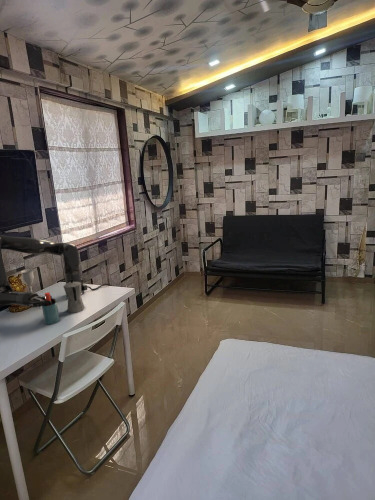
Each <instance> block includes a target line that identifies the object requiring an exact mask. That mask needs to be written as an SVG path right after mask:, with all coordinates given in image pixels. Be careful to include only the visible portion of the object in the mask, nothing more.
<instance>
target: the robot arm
mask: <svg viewBox="0 0 375 500" xmlns="http://www.w3.org/2000/svg"><path fill="white" fill-rule="evenodd" d="M2 250H8V251H13V252H16V253H21V254H28V255H54V256H59V257H62V258H63V266H62V269H63V274H64V275H63V276H64V281H65V284H67V283H69V282H71V281H70V280H71V279H73V282H80V283H81V295H80V296H82V295H84V293H85V291H87V290H88V289H90V290H91V291H95V290H98V289H100V288H101V287H104V286H110V287H111V286H112V284H111V283H103V284H100V285H98V286H97V287H94V288H92V287H91V286H89V285H88V284H84V282H83V278H81V277H82V276H81V270H80V256H79V254H80V253H79V249H78V247H77V246H76V245H75V244H72V243H70V242H54V241H50V240H45V239H41V238H34V237H27V236H26V237H25V236H8V235H1V234H0V289H2V290H1V291H0V306H10V305H14V306H20V307H28V308H31V309H32V308H42V305H52V303H56V302H57V300H56V298H54V297H52V295H51V294H50V297H51V301H48V300H46V298H45V295H39V294H38V293H37V292H33V291H32V292H30V291H14V289H13V287H12V286H11V284H10V282H9V279H8V275H7V272H6V268H5V264H4V259H3V253H2ZM118 333H121V327H120V328H118Z"/></svg>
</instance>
